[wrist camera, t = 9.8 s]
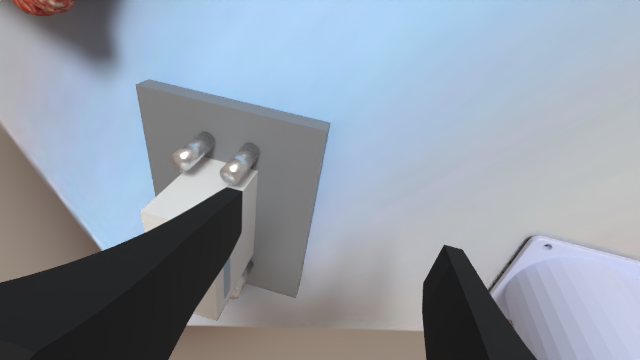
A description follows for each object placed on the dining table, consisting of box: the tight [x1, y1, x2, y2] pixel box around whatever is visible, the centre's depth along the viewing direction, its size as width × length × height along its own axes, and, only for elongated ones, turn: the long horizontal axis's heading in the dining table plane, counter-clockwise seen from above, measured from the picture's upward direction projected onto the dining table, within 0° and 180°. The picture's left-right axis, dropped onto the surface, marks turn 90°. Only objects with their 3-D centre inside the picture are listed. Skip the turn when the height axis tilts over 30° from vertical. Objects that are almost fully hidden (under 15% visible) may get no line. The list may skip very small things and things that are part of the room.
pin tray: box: [136, 80, 330, 299], centre depth 22 cm, size 12×16×4 cm
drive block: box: [140, 157, 258, 321], centre depth 21 cm, size 4×8×6 cm, turn 170°
